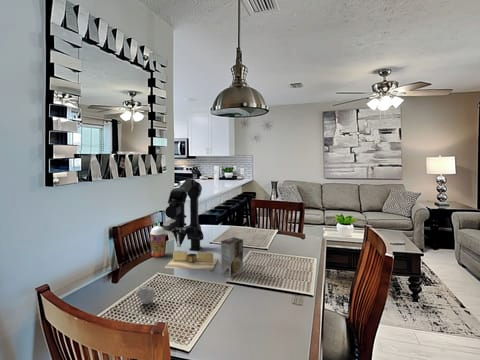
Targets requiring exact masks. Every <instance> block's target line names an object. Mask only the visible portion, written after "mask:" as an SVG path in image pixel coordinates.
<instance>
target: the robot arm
mask: <svg viewBox="0 0 480 360" xmlns="http://www.w3.org/2000/svg"><path fill="white" fill-rule="evenodd" d="M202 190H203V187H202V185H201V183H200V182H198V181H196V180H195V179H194V178H186V179H185V180H184V182H183V183H182V184H181V185H180V186H178V187H174V188H173V189H171V191H170V193H169V197H168V200H167V204H168V206H167V207H166V208H165V211H164V213H165V215H166V217H168V218H169V219H168V220H167V221H165V222H164V223H162V227H163V229H164V230H165V231H167V232H170V233H172V234H173V236H174V240H175V242H176V244H177V234H178V235H179V244H180V245H181V246H182V245H183V243H184V240H185V238H186V239H187V240H188V241H189V240H190V247H189V249H188V251H195V252H197V251H198V252H201V249H202V246H201V241H203V240H204V233H203V231H202V226H201V225H200V223H199V198H200V196H201V195H202ZM187 198H189V203H190V204H189V209H190V210H189V212H190V213H189V214H190V216H189V217H190V219H189V220H190V224H189V225H187V223H186V221H185V219H186V218H187V215H186V214H185V205H186V202H187ZM178 231H179V232H178ZM176 233H177V234H176Z"/></svg>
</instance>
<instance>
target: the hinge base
mask: <svg viewBox="0 0 480 360" xmlns="http://www.w3.org/2000/svg"><path fill="white" fill-rule="evenodd" d="M197 258H198V253H197V254H196V253H189V254H188V251H186V250H185V251H183V250H182V251H180V250H174V251H172V259H173V261H187V262H188V263H194V262H197Z"/></svg>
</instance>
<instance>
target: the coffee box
mask: <svg viewBox="0 0 480 360" xmlns="http://www.w3.org/2000/svg"><path fill="white" fill-rule="evenodd" d="M220 243H221V248H220V249H221V250H220V251H221V252H220V255H221V256H220V257H221V259H220V260H221V262H220V263H221V264H220V265H221V266H220V269H221V271H220V272H221V275H222V276H226V277H228V278H233V277H235V276H237V275H239V274H241V273H243V272H244V253H243V252H244V239H241V238H238V237H234V236H233V237H229V238H227V239H224V240H221V242H220Z"/></svg>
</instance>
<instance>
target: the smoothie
mask: <svg viewBox="0 0 480 360" xmlns="http://www.w3.org/2000/svg"><path fill="white" fill-rule="evenodd" d="M149 237H150V238H149V239H150V248H151V250H150V252H151V256H152V257H153V258H162V257H164V255H165V248H166V246H165V244H166V230H164V227H163V226H161V225H159V221H158V220H156V225H155V226H154V227H152V228H151V230H150V232H149Z"/></svg>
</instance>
